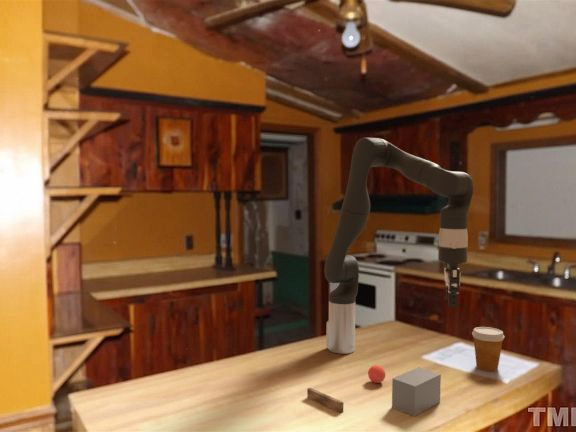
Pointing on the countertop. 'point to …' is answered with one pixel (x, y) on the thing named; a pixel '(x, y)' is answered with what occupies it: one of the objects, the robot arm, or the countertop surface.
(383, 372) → the ball
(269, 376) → the countertop surface
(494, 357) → the disposable coffee cup
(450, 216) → the robot arm
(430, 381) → the grey rectangular block
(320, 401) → the stopper
